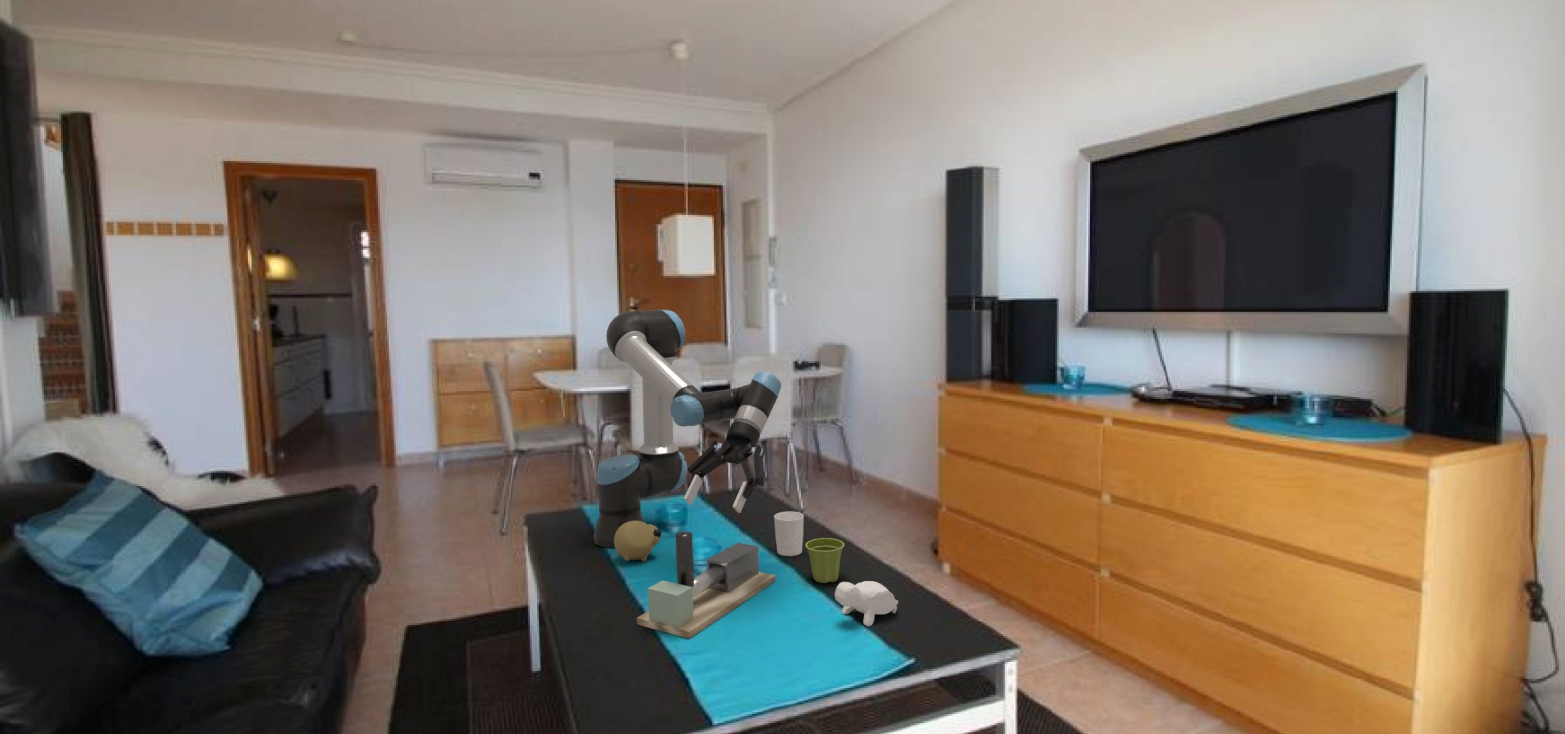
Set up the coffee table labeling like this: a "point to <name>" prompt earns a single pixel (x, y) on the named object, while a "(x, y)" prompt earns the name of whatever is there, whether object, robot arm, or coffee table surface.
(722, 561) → the outer sleeve
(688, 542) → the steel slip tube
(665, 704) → the coffee table surface
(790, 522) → the white cup
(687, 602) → the socket block
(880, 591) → the white turtle figurine
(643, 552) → the toy pig
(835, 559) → the plant pot
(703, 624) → the birch base board
